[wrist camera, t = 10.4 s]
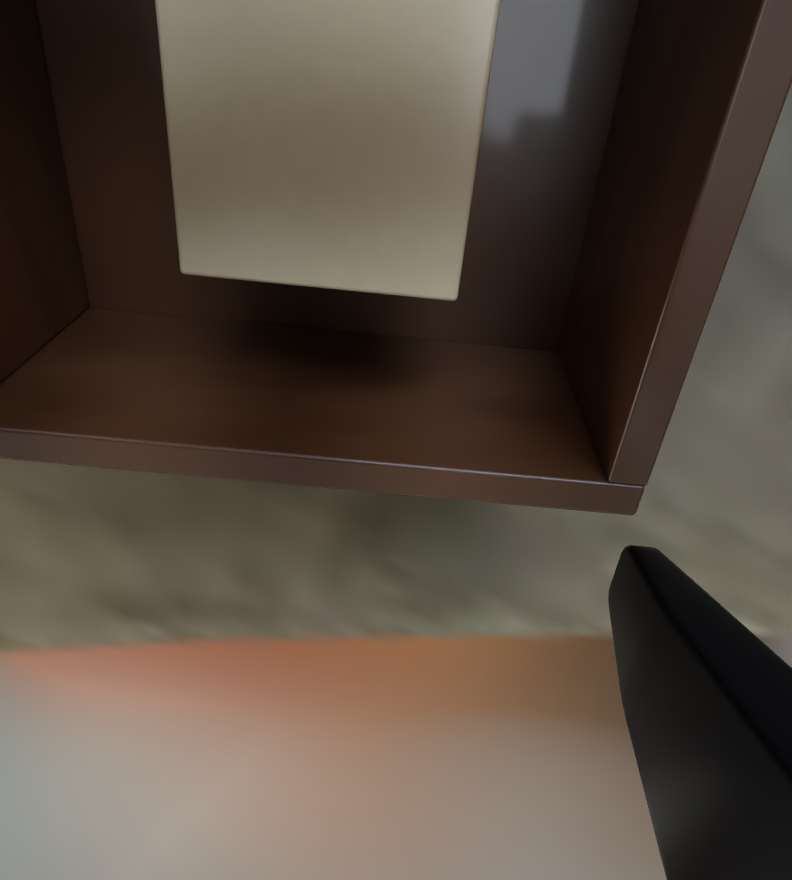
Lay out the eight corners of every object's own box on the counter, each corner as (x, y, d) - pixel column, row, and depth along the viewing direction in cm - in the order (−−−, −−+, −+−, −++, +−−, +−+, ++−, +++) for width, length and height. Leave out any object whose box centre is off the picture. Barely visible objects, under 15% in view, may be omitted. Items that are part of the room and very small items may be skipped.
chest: (728, -246, 11) (996, -480, 6) (573, 365, 17) (636, 517, 12) (-44, -323, 11) (-475, -631, 6) (80, 320, 17) (-73, 453, 12)
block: (235, -49, 12) (145, -78, 8) (482, -23, 12) (506, -40, 8) (244, 206, 15) (179, 275, 11) (450, 227, 15) (457, 303, 11)
